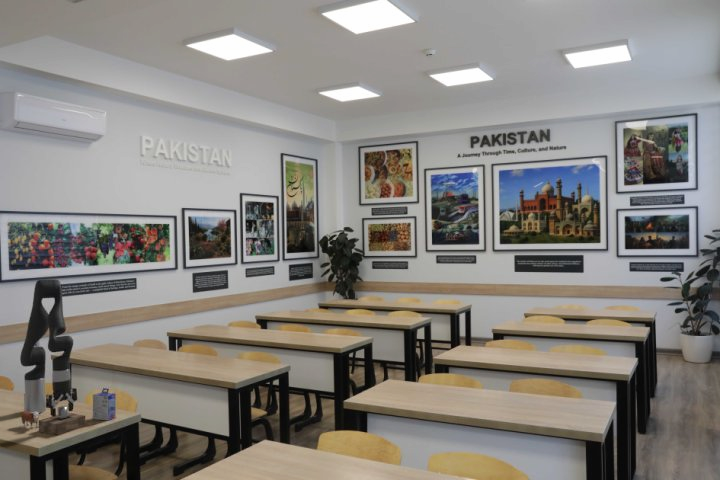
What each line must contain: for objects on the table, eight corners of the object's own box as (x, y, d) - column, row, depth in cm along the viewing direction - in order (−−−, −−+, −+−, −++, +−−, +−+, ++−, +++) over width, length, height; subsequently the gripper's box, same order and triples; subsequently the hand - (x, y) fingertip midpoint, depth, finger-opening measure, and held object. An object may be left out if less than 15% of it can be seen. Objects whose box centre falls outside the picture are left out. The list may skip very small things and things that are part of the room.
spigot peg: (56, 427, 267) (55, 407, 267) (64, 424, 270) (63, 405, 270) (61, 428, 265) (61, 409, 265) (69, 425, 269) (69, 406, 269)
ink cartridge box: (116, 417, 283) (116, 388, 283) (108, 421, 278) (107, 391, 278) (100, 416, 286) (100, 387, 286) (92, 419, 281) (91, 390, 281)
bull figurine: (34, 431, 265) (34, 413, 265) (19, 426, 272) (18, 409, 272) (43, 428, 269) (43, 411, 269) (28, 423, 276) (28, 407, 276)
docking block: (38, 431, 265) (38, 420, 265) (66, 422, 277) (66, 412, 277) (58, 435, 258) (57, 424, 258) (85, 426, 271) (85, 415, 271)
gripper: (70, 375, 276) (70, 408, 276) (41, 381, 263) (42, 416, 263) (80, 376, 272) (81, 410, 272) (52, 383, 260) (53, 419, 260)
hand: (62, 413), depth 268 cm, fingers open, 8 cm apart
